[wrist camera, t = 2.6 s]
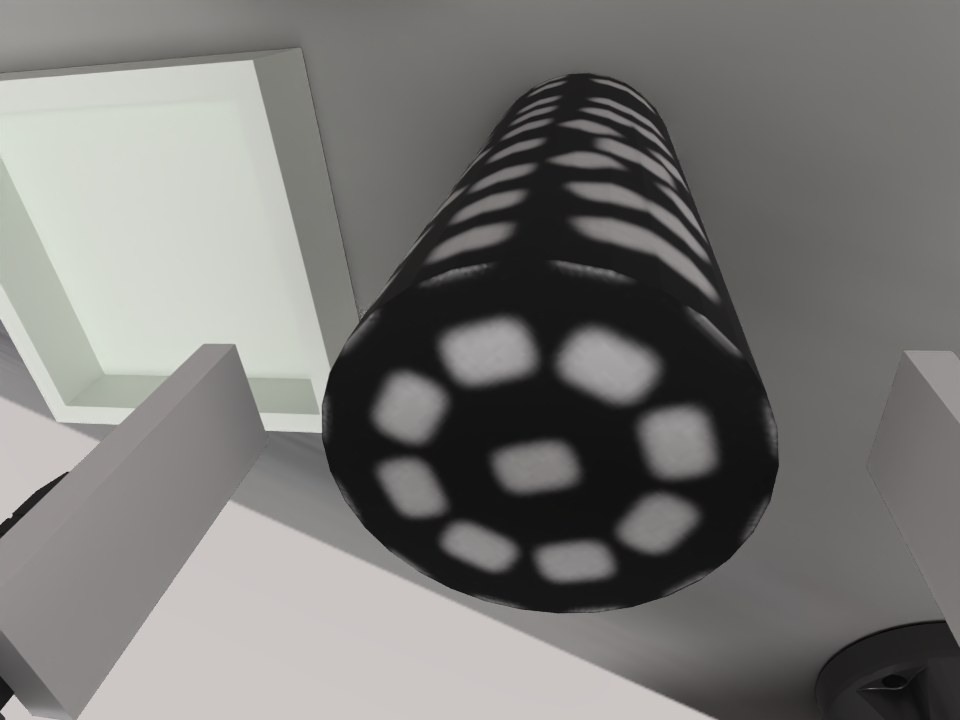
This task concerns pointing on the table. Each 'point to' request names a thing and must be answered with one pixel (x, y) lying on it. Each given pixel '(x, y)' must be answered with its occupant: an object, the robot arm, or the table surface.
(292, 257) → the tray
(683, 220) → the spotted tube
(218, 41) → the table surface
